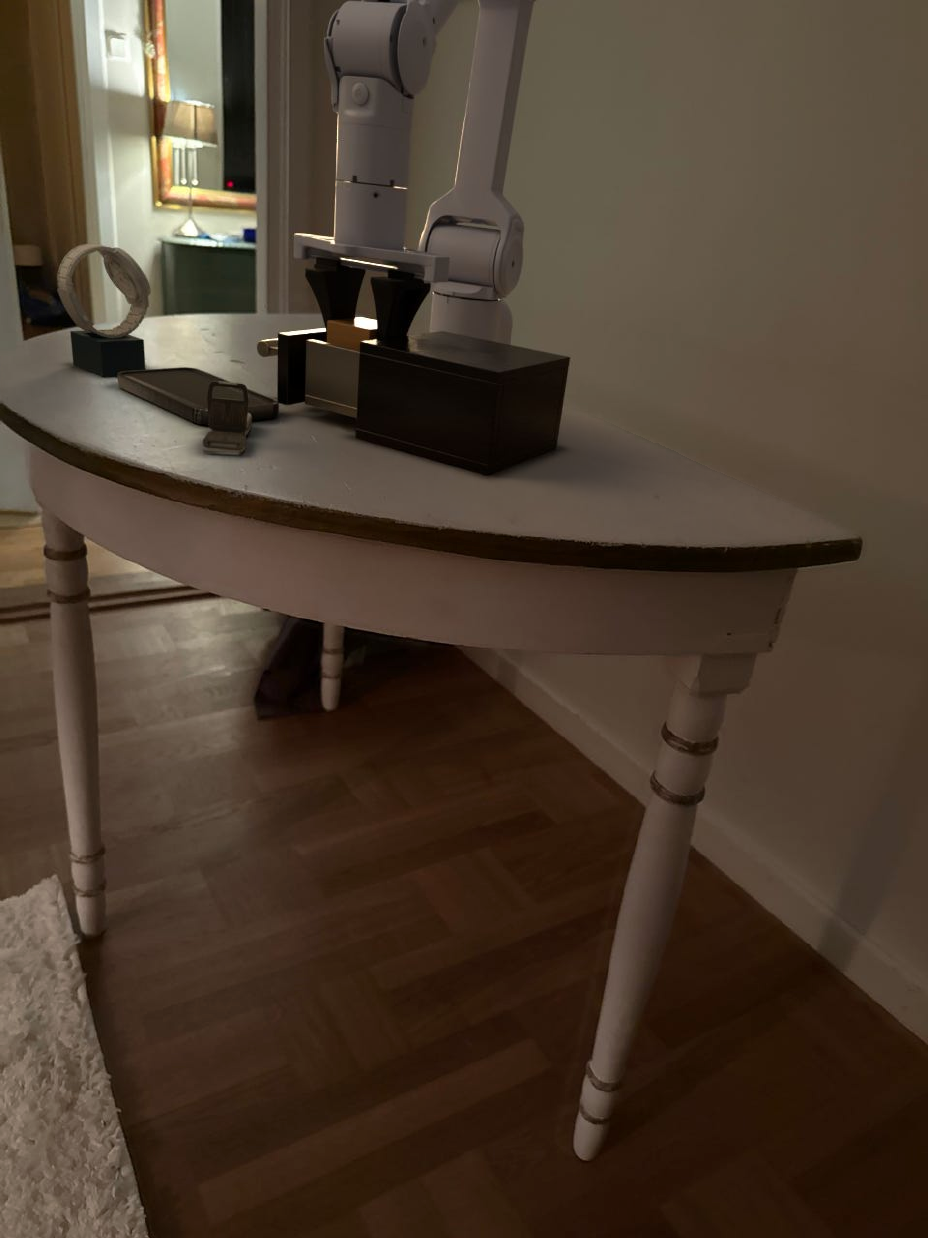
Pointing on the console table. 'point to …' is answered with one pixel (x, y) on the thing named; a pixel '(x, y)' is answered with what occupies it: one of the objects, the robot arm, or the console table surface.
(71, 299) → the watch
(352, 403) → the drawer
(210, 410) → the strap clip
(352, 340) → the block
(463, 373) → the dark brown box
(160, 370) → the phone
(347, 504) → the console table surface
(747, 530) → the console table surface
